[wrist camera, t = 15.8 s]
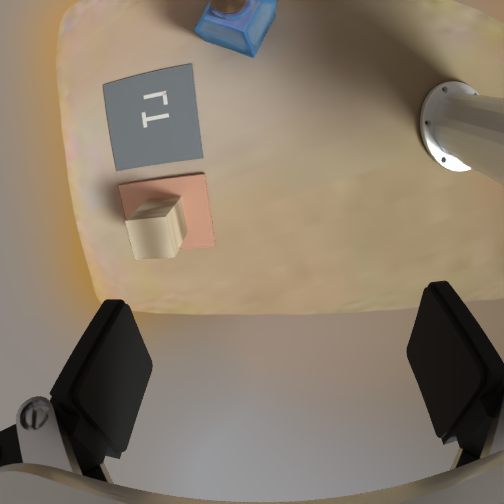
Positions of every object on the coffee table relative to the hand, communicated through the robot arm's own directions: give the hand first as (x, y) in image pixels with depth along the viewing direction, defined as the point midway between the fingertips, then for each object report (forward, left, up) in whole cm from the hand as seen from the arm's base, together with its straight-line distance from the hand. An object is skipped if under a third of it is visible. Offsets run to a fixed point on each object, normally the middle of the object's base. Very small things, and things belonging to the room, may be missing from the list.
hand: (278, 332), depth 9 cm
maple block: (+14, +7, -30) cm, 34 cm away
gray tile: (+14, -6, -30) cm, 34 cm away
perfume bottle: (+2, -16, -31) cm, 35 cm away
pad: (+14, +7, -30) cm, 34 cm away
